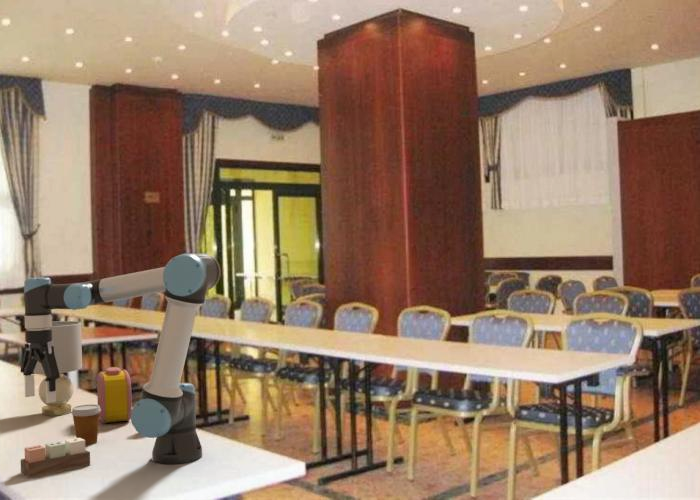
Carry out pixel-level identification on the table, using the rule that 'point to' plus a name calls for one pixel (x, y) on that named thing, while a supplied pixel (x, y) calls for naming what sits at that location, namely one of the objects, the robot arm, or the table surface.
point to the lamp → (62, 365)
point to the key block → (55, 464)
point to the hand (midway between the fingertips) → (40, 399)
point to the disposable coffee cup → (86, 422)
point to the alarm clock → (114, 395)
